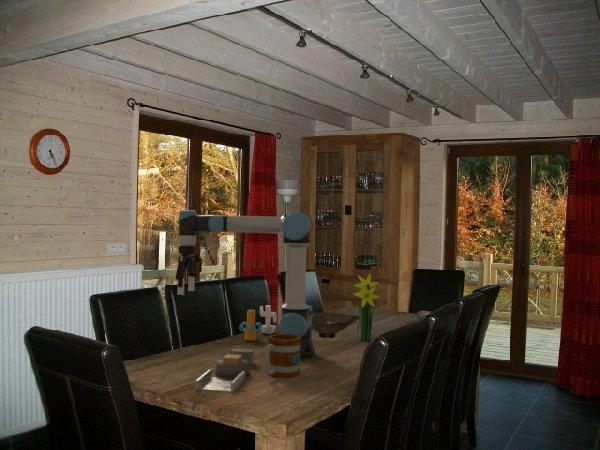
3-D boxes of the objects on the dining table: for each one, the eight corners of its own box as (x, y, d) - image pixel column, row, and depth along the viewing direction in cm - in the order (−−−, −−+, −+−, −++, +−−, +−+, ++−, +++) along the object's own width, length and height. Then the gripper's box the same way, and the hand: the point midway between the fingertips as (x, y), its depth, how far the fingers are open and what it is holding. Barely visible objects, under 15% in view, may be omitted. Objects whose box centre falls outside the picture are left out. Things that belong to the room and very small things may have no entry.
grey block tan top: (251, 370, 233) (252, 353, 233) (244, 379, 220) (244, 361, 220) (220, 368, 235) (221, 351, 235) (211, 377, 222) (211, 359, 222)
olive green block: (253, 363, 245) (254, 349, 245) (251, 366, 240) (251, 352, 240) (233, 362, 247) (233, 348, 247) (230, 365, 242) (230, 351, 242)
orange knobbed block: (266, 339, 294) (266, 310, 294) (254, 343, 285) (254, 312, 285) (247, 336, 301) (248, 307, 301) (234, 339, 292) (235, 310, 292)
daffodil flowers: (377, 347, 282) (379, 276, 282) (348, 344, 287) (349, 274, 286) (382, 340, 299) (384, 273, 298) (354, 338, 303) (356, 271, 303)
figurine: (273, 335, 306) (274, 306, 306) (257, 333, 309) (257, 305, 309) (278, 332, 313) (278, 305, 313) (261, 331, 316) (262, 303, 316)
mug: (278, 368, 238) (279, 332, 238) (307, 373, 231) (307, 336, 231) (251, 379, 221) (251, 340, 221) (280, 385, 214) (281, 344, 214)
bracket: (244, 380, 219) (244, 371, 219) (233, 392, 203) (233, 383, 203) (208, 378, 221) (209, 369, 221) (195, 390, 205) (195, 380, 205)
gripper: (188, 243, 268) (187, 289, 268) (168, 245, 243) (167, 295, 243) (204, 244, 267) (203, 289, 267) (185, 246, 242) (184, 296, 242)
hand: (186, 292), depth 255 cm, fingers open, 13 cm apart
